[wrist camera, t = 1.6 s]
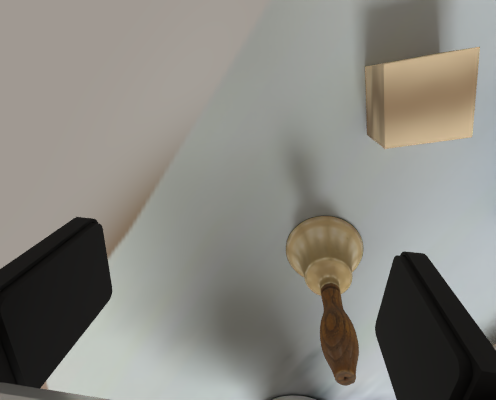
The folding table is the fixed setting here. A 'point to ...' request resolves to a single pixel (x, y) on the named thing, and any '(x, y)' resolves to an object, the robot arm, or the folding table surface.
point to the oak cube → (422, 98)
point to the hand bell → (330, 284)
